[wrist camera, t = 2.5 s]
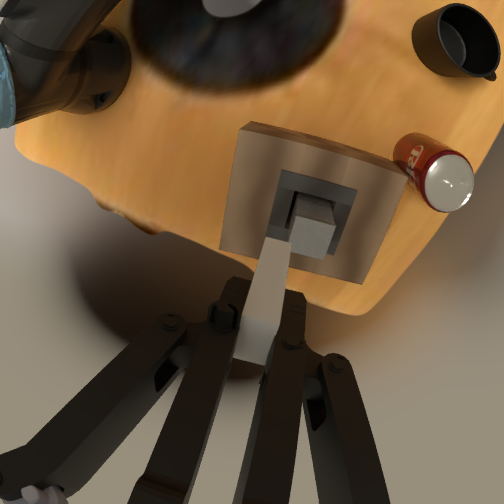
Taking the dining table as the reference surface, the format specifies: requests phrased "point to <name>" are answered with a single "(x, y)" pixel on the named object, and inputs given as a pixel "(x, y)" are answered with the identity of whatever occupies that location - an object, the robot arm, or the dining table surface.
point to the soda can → (435, 171)
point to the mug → (457, 42)
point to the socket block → (314, 183)
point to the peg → (311, 225)
